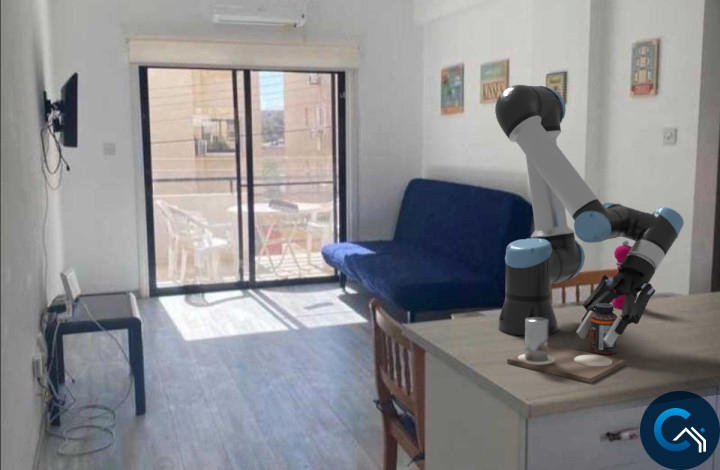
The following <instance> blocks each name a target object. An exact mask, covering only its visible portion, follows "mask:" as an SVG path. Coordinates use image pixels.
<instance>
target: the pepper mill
mask: <svg viewBox="0 0 720 470" xmlns="http://www.w3.org/2000/svg"><path fill="white" fill-rule="evenodd" d="M621 243H622V245H619V246H617V247H616V248H615V249H614V253H613V254H614V259H616V261H615V263H616V264H615V266H616V268H617V269H616V270H617V274H618V272H619V267H620V265H621V264H622V262H623V260H624V259H625V257H626V256H628V252H629V251H630V249H631V248H632V246H630V245H629V244H630V243H629V241H628V240H627V239H623V240H622V242H621ZM617 274H616V275H617ZM614 291H615V290H614ZM615 293H616V291H615ZM624 300H625V295H621V296H619V297H618V298H615V299H614V300H612V301H611V304H612V305H613V308H615V309H620V310H623V305H624ZM634 304H635V303H634Z"/></svg>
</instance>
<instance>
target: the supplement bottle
mask: <svg viewBox="0 0 720 470" xmlns="http://www.w3.org/2000/svg"><path fill="white" fill-rule="evenodd" d="M594 309H595V312H594V313H592V315H591V327H590V331H589V333H590V335H589V350H590V352H592V353H593V354H597V355H602V356H606V355H607V356H608V355H614V354H616V352H617V349H618V347H617V346H618V345H617V344H618V338H617V339H616V340H615V342H614V344H613V345H612V347H609V346H608V345H607V344H606V343H605V341H604V340H603V339H604V337H605V336H606V334H607V333H608V331H609V329H610V328H611V326H612V325H613V323H614V321H615V320H616V318H617V317H618V316H617V314H616V313H614V307H613V305H612V303H609V304H608V303H598V304H596V305H595V308H594Z"/></svg>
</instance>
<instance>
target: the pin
mask: <svg viewBox="0 0 720 470" xmlns="http://www.w3.org/2000/svg"><path fill="white" fill-rule="evenodd" d="M548 344H549V335H548V319H546V318H541V317H530V318H526V319H525V336H524V352H525V359H526V360H528V361H533V362H543V361H547V360H548Z"/></svg>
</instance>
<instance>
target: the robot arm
mask: <svg viewBox="0 0 720 470" xmlns="http://www.w3.org/2000/svg"><path fill="white" fill-rule="evenodd" d="M566 108H567V107H566V104H565V100H564V98H563V96H562V95H561V93H559V91H556V90H555V89H553V88H550V87H548V86H543V85H539V86H538V85H525V84H514V85H512V86H511V85H510V86H509V87H507V88H505V89H504V90H503V91H502V92H501V93H500V94H499V96H498V97H497V100H496V103H495V110H494V111H495V112H494V113H495V118H496V121H497V122H498V125H499V127H500V129H501V131H502V132H503V133H504V135H505V136H506V137H507V138H508V139H509V141H510V142H512V143H516V144H517V145H518V146H519V148H520V149H521V150H522V152H523V153H524V154H525V159H526V167H527V175H528V183H529V190H530V198H531V205H532V213H533V220H534V228H535V229H534V231H533V232H532V234H531V236H530V238H525V239H523V238H522V239H517V240H514V241H511V242H509V244H508V245H507V246H506V249H505V257H504V262H505V286H504V287H505V290H504V291H505V292H504V293H505V298H504V302H503V304H502V305H503V306H502V309H501V311H500V314H499V317H498V330H500V331H501V332H503V333H506V334H511V335H515V336H524V337H525V319H526V318H530V317H541V318H546V319H548V336H549V335H551V334H554V333H556V332H557V331H558V320H557V317H556V313H555V310H554V308H553V305H552V301H551V299H552V298H551V296H552V295H551V293H552V285H554V284H558V283H562V282H566V281H569V280H571V279H573V278H574V277H576V276H577V275H578V274H579V273H581V271H582V269H583V267H584V265H585V261H586V260H585V259H586V257H585V255H586V254H585V251H584V248H583V246H582V245H581V244H580V243H579V242H578V240H576V239H575V238H576V237H577V238H578V239H579V240H581V241H582V242H585V243H589V244H590V243H601V242H604V241H606V240H611V239H617V238H620V237H622V238H624V239H629V240H632V241H634V244H633V245H632V246H631V247H632V248H631V249H630V251H629V252H628V256H626V257H625V259H624V260H623V262H622V264H621V265H620V267H619V272H618V274H615V275H614V276H612V277H608V275H606V274H605V275H603V276H602V278H601V280H600V281H599V283H598V285H597V286H596V287H595V289H594V290H593V291H592V293H590V295H589V296H588V297H587V298H586V300H585V301H584V302H583V304H582V306H583V308H584V309H585V310H586V313H584V315H583V317H582V318H581V324H580V325H579V326H578V328H577V330H576V332H575V333H576V334H577V335H578V336H579V337H580V339H582V340H585V338H586V337H587V335H588V334H589V333H590V327H591V315H592V313H594V312H595V305H596V304H598V303H608V304H611V303H612V302H613V300H614V299H615V298H618V297H619V296H621V295H625V300H624V305H623V309H621V310H622V312H621V314H619V316H620V317H619V316H617V318H616V320H615V321H614V323H613V325H612V326H611V328H610V329H609V331H608V333H607V334H606V336H605V337H604V339H603V340H604V341H605V343H606V344H607V345H608V346H609V347H612V345H613V344H614V342H615V340H616V339H617V340H618V337H619V336H620V335H622V334H624V332H625V330H626V329H627V327H628V325H630V324H635V325H637V324H639V323H640V321H641V319H642V316H643V314H644V312H645V309H646V307H647V305H648V303H649V301H650V299H651V297H652V296H653V295H654V294H655V293H656V290H655V288H654V287H653V285H652V284H651V283H650V282H651V280H652V278H653V277H654V276H655V273H656V271H657V270H658V268H659V266H661V263H662V262H663V260H664V259H665V258H666V255H667V253H668V252H669V251H670V249H671V248H672V245H673V244H674V242H676V240H677V239H678V237H679V235H680V233H681V230H682V228H683V227H684V224H685V223H684V222H685V221H684V218H683V217H682V215H681V214H680V213H679V212H677V211H676V210H675V209H672V208H671V207H666V206H665V207H661V206H659V207H657V208H656V209H655V210H654V211H653V212H652V213H650V212H645V211H641V210H639V209H635V208H632V207H629V206H628V207H627V206H624V205H623V204H620V203H614V202H611V201H610V202H609V201H607V202H604V203H603V204H602V202H601V201H600V200H599V198H598V197H597V195H595V193H594V192H593V191H592V189H591V188H590V186H589V185H588V184H587V183H586V181H585V180H584V179H583V177H582V176H581V175H580V173H579V172H578V170H577V169H576V168H575V167H574V166H573V164H572V163H571V162H570V160H569V159H568V158H567V156H566V155H565V154H564V153H563V151H562V150H561V148H559V147H560V146H558V143H557V138H558V137H559V136H560V134H561V133H562V130H561V123H562V122H563V121H564V120H563V119H564V118H565V115H566ZM566 211H567V213H568V214H569V215H570V216H571V217H572V219H573V221H574V223H573V229H574V230H573V229H572V228H571V227H569V226H568V222H567V221H568V220H567V214H566ZM575 236H576V237H575ZM614 290H615V291H616V293H615V291H614ZM638 293H639V294H638ZM634 303H635V304H634Z"/></svg>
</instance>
